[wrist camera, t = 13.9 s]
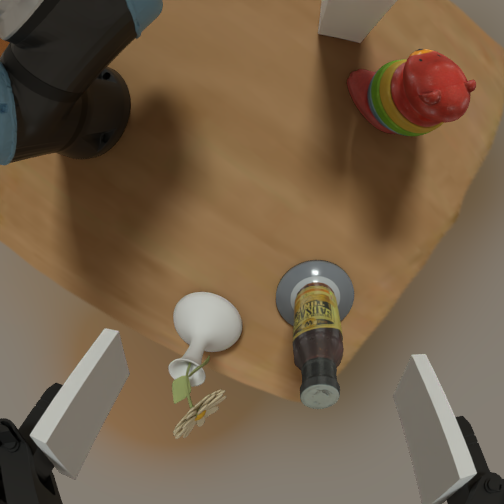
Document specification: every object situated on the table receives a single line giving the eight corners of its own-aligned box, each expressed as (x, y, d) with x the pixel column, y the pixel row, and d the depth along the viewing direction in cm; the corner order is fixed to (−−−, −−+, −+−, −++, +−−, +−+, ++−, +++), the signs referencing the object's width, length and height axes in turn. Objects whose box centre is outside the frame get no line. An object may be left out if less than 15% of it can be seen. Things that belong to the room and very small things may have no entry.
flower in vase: (210, 354, 54) (171, 472, 30) (163, 311, 51) (96, 421, 28) (265, 317, 49) (247, 449, 26) (215, 267, 47) (156, 385, 24)
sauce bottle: (327, 273, 45) (347, 365, 26) (340, 306, 46) (363, 403, 28) (285, 289, 46) (282, 386, 28) (301, 321, 48) (304, 421, 30)
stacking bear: (410, 60, 33) (475, 28, 16) (432, 127, 36) (507, 130, 19) (342, 73, 35) (378, 35, 19) (365, 143, 38) (417, 150, 22)
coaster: (273, 325, 50) (273, 328, 49) (279, 257, 45) (278, 259, 45) (345, 329, 49) (346, 332, 48) (359, 262, 44) (360, 265, 44)
